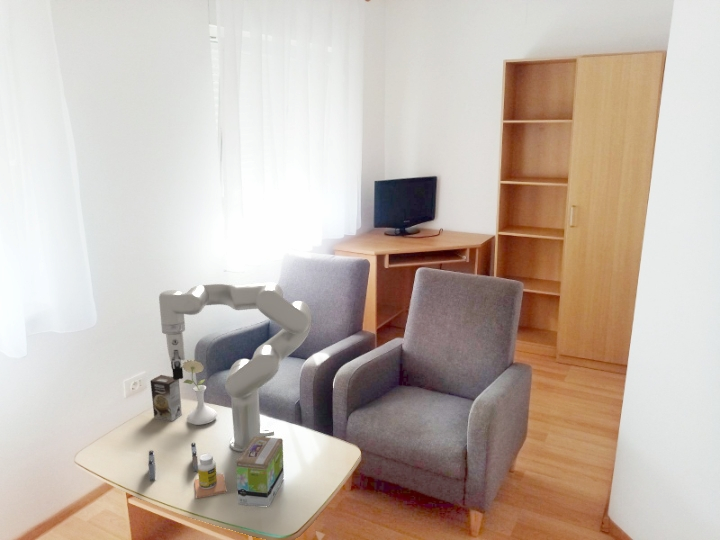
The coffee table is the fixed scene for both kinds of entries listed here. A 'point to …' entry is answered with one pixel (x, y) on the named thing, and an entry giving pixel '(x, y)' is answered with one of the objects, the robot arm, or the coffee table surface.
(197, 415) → the flower in vase
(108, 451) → the coffee table surface
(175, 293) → the robot arm
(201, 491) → the coaster
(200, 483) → the supplement bottle
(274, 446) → the tea box
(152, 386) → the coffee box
